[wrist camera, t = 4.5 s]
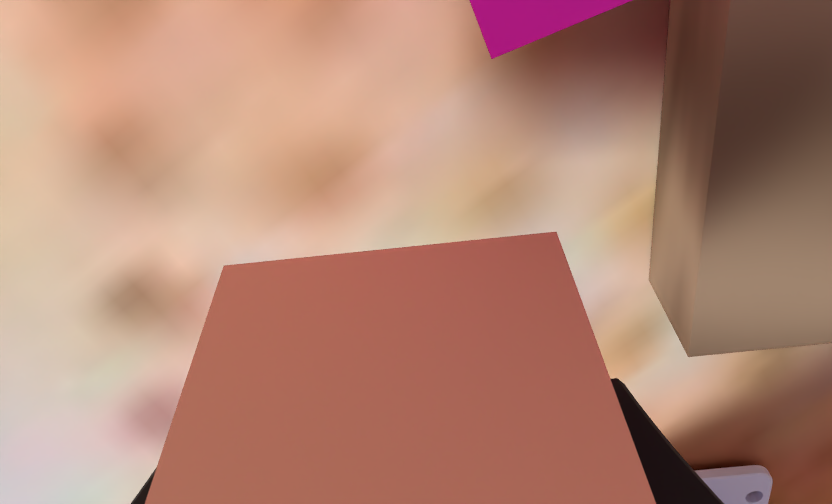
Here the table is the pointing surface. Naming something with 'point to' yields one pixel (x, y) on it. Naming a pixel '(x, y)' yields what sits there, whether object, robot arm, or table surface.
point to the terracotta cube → (401, 385)
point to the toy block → (531, 19)
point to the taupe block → (745, 175)
